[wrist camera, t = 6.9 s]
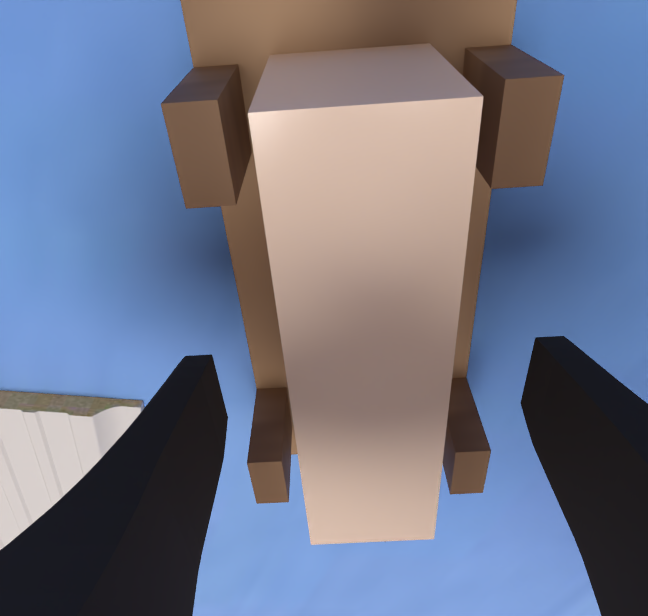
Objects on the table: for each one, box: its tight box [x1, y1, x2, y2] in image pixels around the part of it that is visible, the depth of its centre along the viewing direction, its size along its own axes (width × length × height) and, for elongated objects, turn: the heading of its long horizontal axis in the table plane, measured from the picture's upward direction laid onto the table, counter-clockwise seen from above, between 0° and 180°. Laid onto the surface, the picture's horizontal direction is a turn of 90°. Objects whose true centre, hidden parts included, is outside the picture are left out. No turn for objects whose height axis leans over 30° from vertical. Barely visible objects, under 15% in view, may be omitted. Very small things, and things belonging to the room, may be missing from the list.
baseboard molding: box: [0, 390, 144, 550], centre depth 27 cm, size 31×3×12 cm
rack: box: [161, 0, 564, 503], centre depth 14 cm, size 7×15×4 cm, turn 4°
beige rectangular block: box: [248, 43, 484, 545], centre depth 13 cm, size 4×12×4 cm, turn 4°
